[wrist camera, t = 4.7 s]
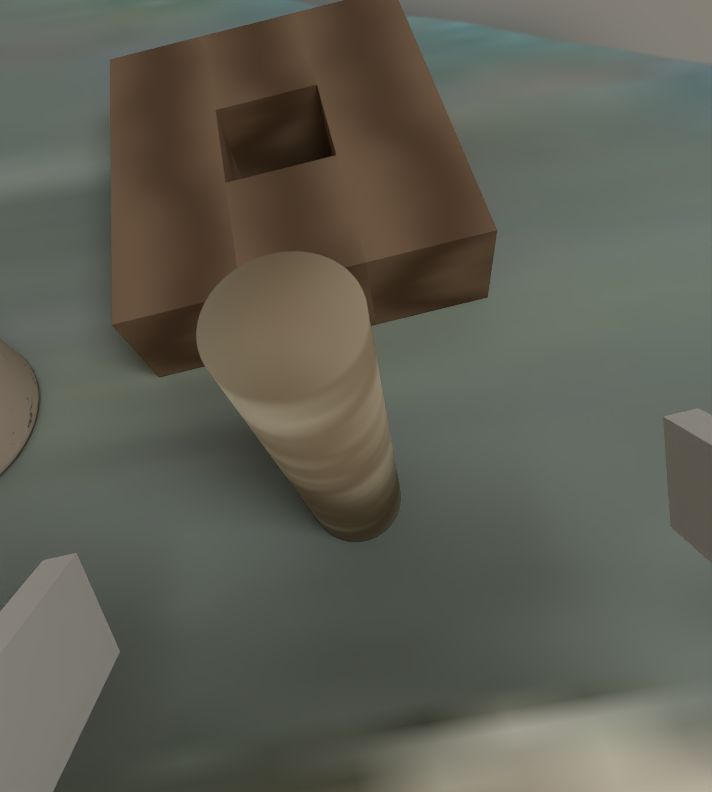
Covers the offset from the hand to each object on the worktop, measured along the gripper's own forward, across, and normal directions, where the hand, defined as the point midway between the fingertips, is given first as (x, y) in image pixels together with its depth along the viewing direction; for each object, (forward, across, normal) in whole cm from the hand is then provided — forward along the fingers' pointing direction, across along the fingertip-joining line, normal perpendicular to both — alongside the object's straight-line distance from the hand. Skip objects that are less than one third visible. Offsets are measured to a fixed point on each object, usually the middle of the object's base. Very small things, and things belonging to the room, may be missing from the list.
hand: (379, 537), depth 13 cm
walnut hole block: (+22, -1, +8) cm, 23 cm away
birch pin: (+10, -1, -4) cm, 11 cm away
